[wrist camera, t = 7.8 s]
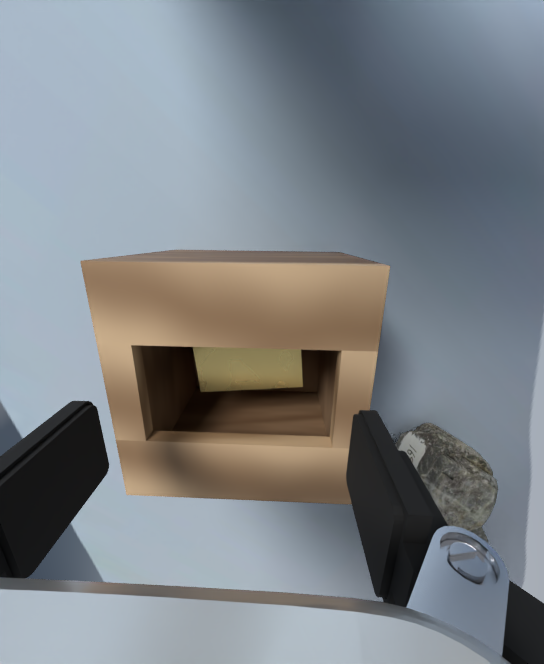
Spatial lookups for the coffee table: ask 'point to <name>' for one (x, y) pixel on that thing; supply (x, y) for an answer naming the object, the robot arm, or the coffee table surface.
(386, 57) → the coffee table surface
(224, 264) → the box
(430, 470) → the stone
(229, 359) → the brushed brass block
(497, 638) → the robot arm
